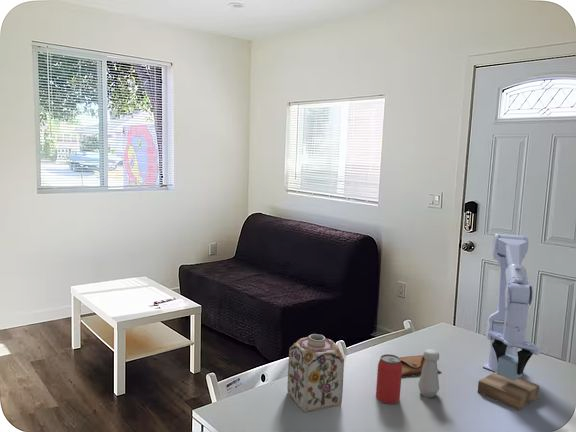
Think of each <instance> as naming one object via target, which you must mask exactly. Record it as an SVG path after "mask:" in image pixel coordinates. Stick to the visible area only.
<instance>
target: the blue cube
mask: <svg viewBox="0 0 576 432" xmlns="http://www.w3.org/2000/svg"><path fill="white" fill-rule="evenodd" d="M517 368H518V357H515V356H512V355H509V354H505V355H503V356H501V357H499V358H498V367H497V374H498V375H500V376H503V377H505V378H508V379H510V380H513V381H515V380H516V379H518V378H522V377H523V373H522V374H520V375H519V374H517Z"/></svg>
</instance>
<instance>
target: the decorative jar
mask: <svg viewBox="0 0 576 432" xmlns="http://www.w3.org/2000/svg"><path fill="white" fill-rule="evenodd" d="M287 365H288V367H287V386H286V387H287V393H288V394H289V395H290V397H291V399H292V400H293V401H294V402H295V403H296V404H297V405H298V406H299V408H300V409H301V410H302V411H303V412H304V413H307V412H311V411H316V410H323V409H328V408H333V407H338V406H342V403H343V393H344V391H343V390H344V376H345V375H344V373H345V372H344V371H345V358H344V356H343V354H342V351H341V350H340V347H339V345H338V344H337V343H335V342H334V340H332V339H329V338H326V337H325V336H324V335H323V334H317V333H312V334H310V335H308V336H306V337H302V338H300V339H298V340H297V341H296V342H294V343H293V344H292V345H291V346H290V347H289V349H288V364H287Z"/></svg>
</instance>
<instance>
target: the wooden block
mask: <svg viewBox="0 0 576 432" xmlns="http://www.w3.org/2000/svg"><path fill="white" fill-rule="evenodd" d="M539 389H540V385H538V384H536V383H533V382H531V381H529V380H526V379H524V378H522V377H520V378H518V379H516V380H515V381H513V380H510V379H508V378H505V377H503V376H500V375H498V374H497V371H496V372H494V371H493V373H490V374H489V375H487V376H485V377H483V378H481V379H480V380H478V385H477V394H481V395H482V396H485V397H487V398H490V399H491V400H494V401H497V402H498V403H501V404H503V405H506V406H508V407H510V408H513V409H515V410H516V411H520V410H521V409H523V408H525V407H526V406H527V405H529V404H530V403H532V402H533V401H534V400H536V399H537V398H538V397H539V391H540V390H539Z"/></svg>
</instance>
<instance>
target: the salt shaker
mask: <svg viewBox="0 0 576 432" xmlns="http://www.w3.org/2000/svg"><path fill="white" fill-rule="evenodd" d="M423 355H424V358H425V359H426V360H425V363H424V366H423V370H422V373H421V375H419V380H418V389H419V393H420V394H421V395H422V396H423V397H425V398H433V397H435V396H436V395H437V394H438V393H439V390H440V383H439V382H440V381H439V373H438V370H439V368H438V361H439V360H440V353H439V352H438V351H437V350H436V349H431V348H428V349H425V350H424V351H423Z"/></svg>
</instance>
